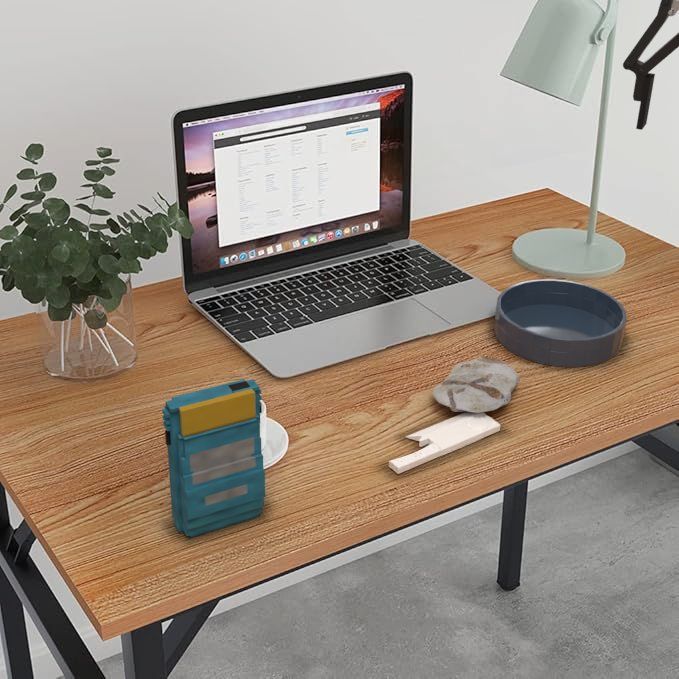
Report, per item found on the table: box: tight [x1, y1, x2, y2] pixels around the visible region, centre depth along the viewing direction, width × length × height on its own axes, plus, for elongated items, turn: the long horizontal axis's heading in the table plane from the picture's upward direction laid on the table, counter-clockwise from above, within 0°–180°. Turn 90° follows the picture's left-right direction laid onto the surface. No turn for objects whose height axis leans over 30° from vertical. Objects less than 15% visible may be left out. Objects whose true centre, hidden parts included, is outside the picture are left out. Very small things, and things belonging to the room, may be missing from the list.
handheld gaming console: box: [161, 378, 266, 539], centre depth 105 cm, size 10×4×15 cm, turn 118°
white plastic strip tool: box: [388, 411, 502, 475], centre depth 121 cm, size 5×15×1 cm, turn 125°
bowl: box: [493, 278, 628, 368], centre depth 143 cm, size 17×17×4 cm
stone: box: [431, 355, 520, 413], centre depth 128 cm, size 12×9×3 cm
